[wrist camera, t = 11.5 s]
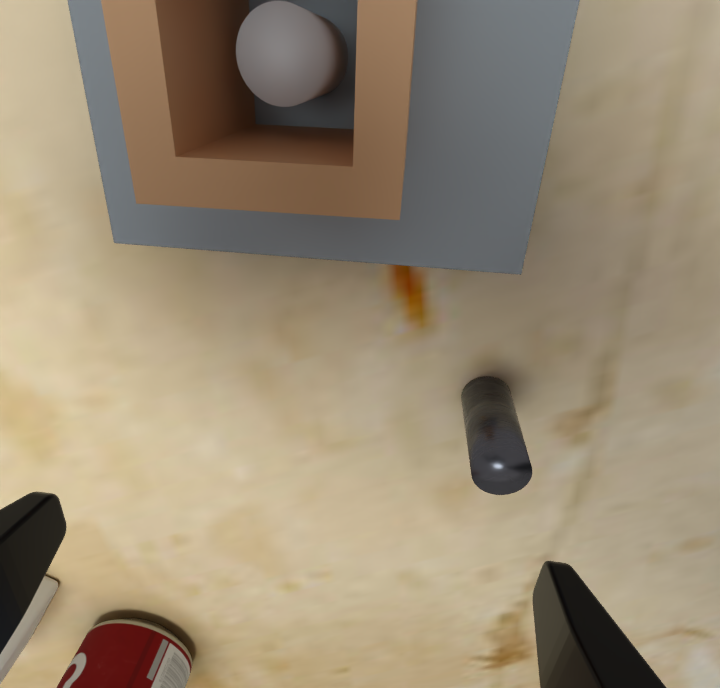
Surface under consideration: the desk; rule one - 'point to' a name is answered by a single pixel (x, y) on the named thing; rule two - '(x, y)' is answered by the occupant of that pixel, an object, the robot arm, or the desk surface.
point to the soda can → (129, 657)
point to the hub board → (336, 110)
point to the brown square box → (237, 114)
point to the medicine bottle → (27, 625)
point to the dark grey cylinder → (494, 437)
